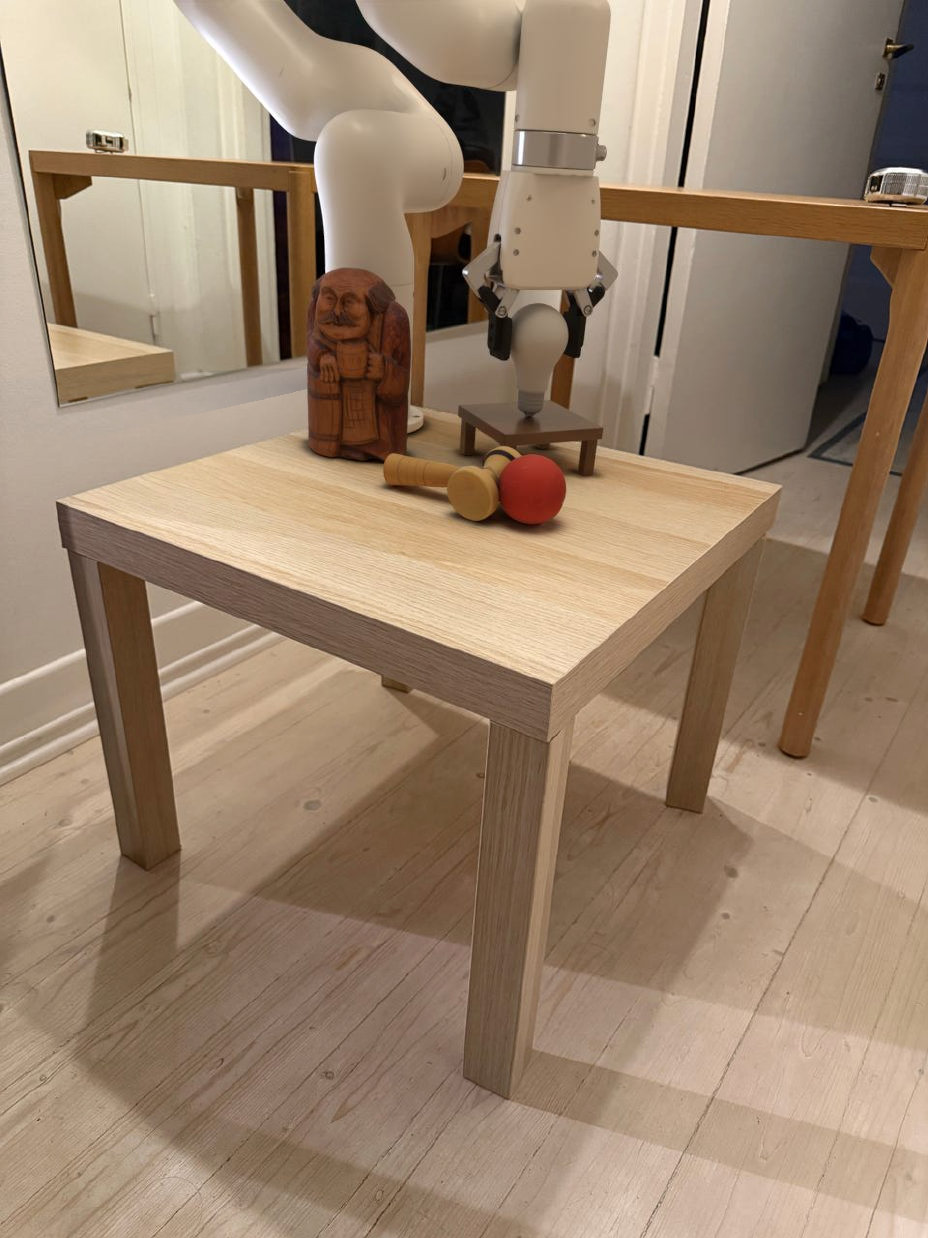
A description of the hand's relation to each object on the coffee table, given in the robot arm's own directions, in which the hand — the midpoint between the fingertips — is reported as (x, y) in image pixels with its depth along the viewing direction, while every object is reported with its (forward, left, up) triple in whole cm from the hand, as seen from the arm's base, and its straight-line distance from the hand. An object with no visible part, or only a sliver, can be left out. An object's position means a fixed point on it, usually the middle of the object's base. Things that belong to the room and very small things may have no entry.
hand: (534, 355), depth 90 cm
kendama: (+10, -11, -11) cm, 19 cm away
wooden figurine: (-8, -16, -11) cm, 21 cm away
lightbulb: (0, 0, -6) cm, 6 cm away
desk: (0, 0, -11) cm, 11 cm away
